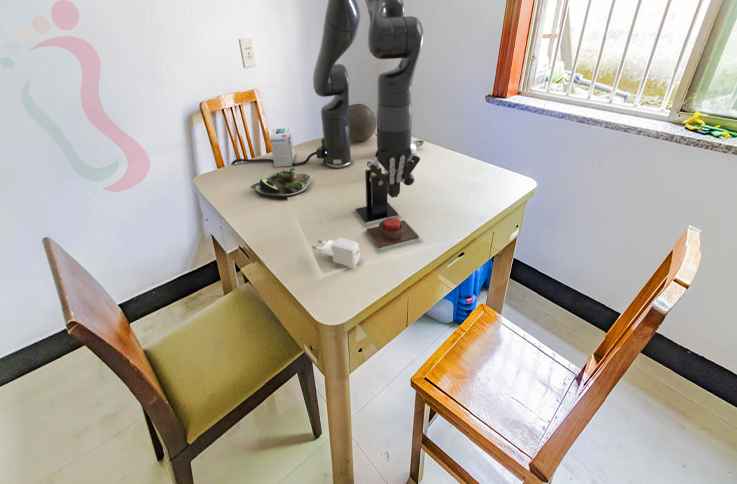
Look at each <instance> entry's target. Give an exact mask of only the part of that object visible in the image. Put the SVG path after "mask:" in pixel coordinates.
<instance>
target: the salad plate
mask: <svg viewBox="0 0 737 484" xmlns="http://www.w3.org/2000/svg"><path fill="white" fill-rule="evenodd" d="M295 171H296V168H295V167H291V168H287V169H286V170H282V171H278V172H273V173H270V174H268V175H266V176H265V177H264V178H260V179H259V182H255V183H254V184H252V185H250V189H253V190H254V191H255V192H256V193H257V194H259V195H260V196H261V197H263V198H267V199H274V200H288V199H289V198H292V197H296V196H299V195H301V194H303V193H305V192H306V191H307V189H308V187H309V186H310V184H311V182H312V180H313V177H312V176H311V175H310V174H308V173H302V172H301V173H299V172H298V173H297V172H295Z"/></svg>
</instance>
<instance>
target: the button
mask: <svg viewBox="0 0 737 484" xmlns="http://www.w3.org/2000/svg"><path fill="white" fill-rule="evenodd" d="M384 220H385V229H386V230H388V231H396V230H399V229H400V221H401V220H400V219H399V218H397V217H394V216H392V217H388V218H385V219H384Z"/></svg>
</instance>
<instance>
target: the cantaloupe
mask: <svg viewBox="0 0 737 484" xmlns="http://www.w3.org/2000/svg"><path fill="white" fill-rule="evenodd" d="M348 116H349V134H350V140H352V141H354V142H358V143H361V142H367V141H368V140H369V139H370V138H372V137H373V136H374V135H375V132H376V131H377V117H376V115H375V112H374V111H373V110H372V109H371V108H370V107H369V106H367V105H366V104H363V103H353V104H349V110H348Z"/></svg>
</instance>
